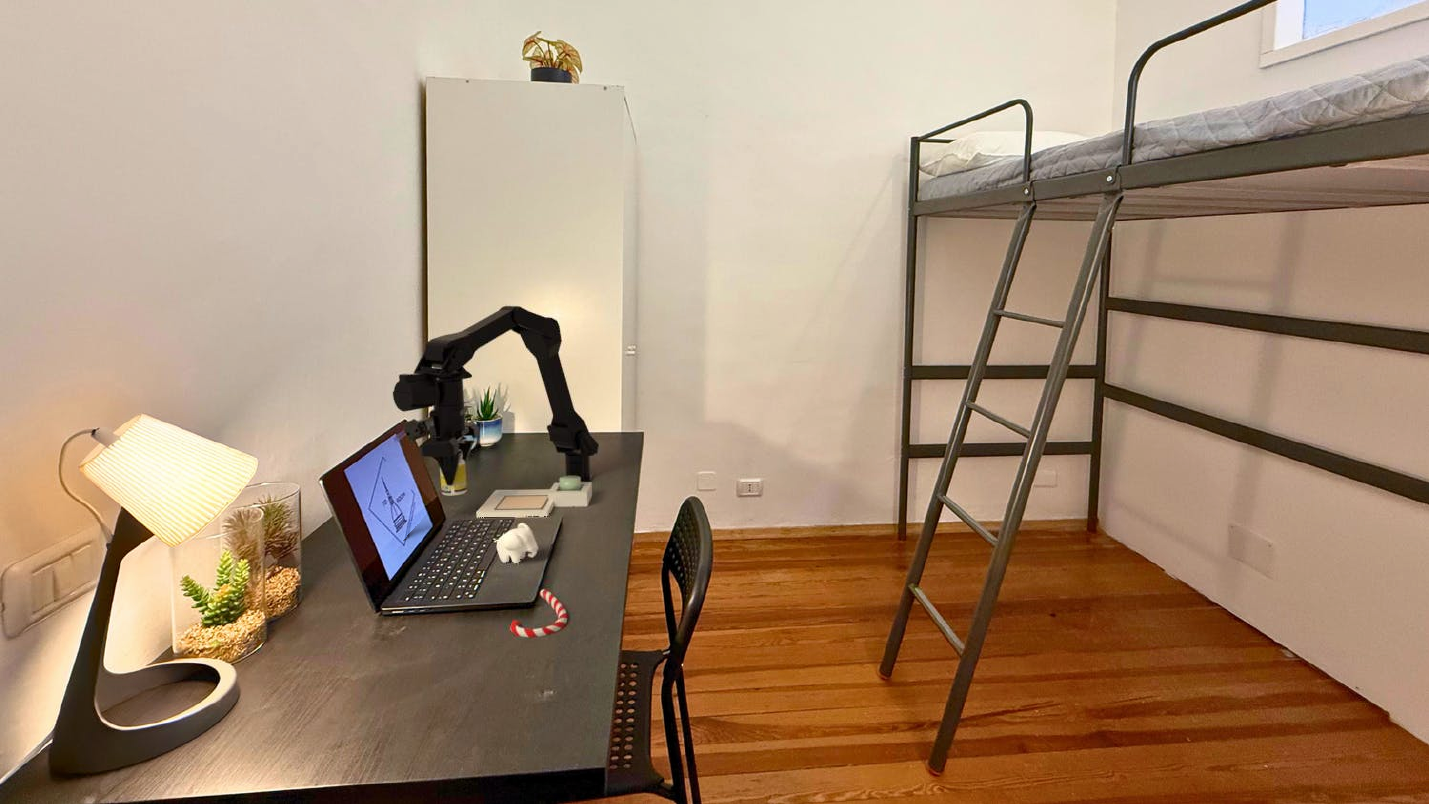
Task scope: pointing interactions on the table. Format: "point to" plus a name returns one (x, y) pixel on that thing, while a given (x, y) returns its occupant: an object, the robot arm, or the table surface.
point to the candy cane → (549, 629)
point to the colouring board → (516, 504)
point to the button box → (570, 496)
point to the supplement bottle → (455, 481)
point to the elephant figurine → (516, 544)
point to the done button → (570, 483)
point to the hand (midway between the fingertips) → (453, 481)
